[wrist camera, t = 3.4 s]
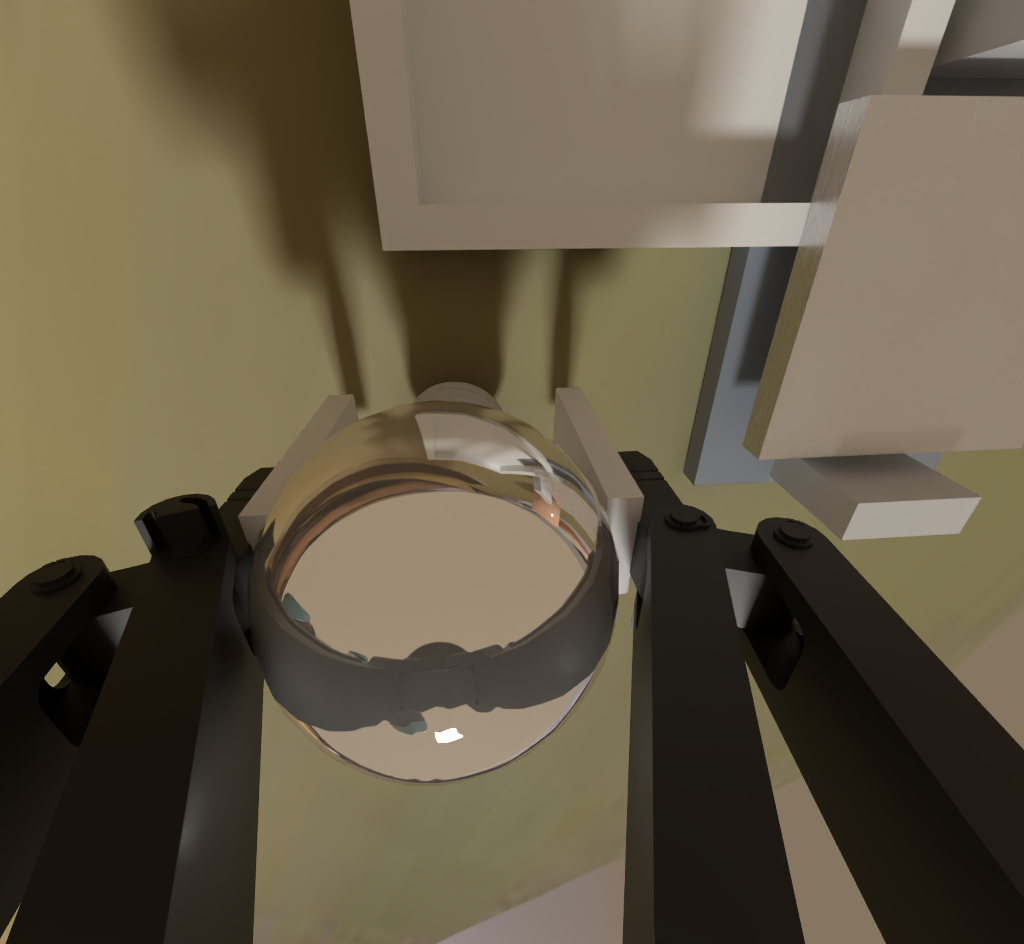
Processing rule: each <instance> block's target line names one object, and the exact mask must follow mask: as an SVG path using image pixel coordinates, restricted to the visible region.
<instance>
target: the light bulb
mask: <svg viewBox="0 0 1024 944" xmlns="http://www.w3.org/2000/svg"><path fill="white" fill-rule="evenodd" d="M247 598H248V620H249V626H250V633H251V640H252V646H253V650H254V653H255V656H256V659H257V662H258V665H259V668H260V671H261V673H262V675H263V677H264V679H265V681H266V683H267V685H268V687H269V689H270V691H271V693H272V695H273V697H274V699H275V700H276V702H277V704H278V705H279V707H280V708H281V710H282V711H283V713H284V714H285V716H286V717H287V718H288V719H289V720H290V721H291V722H292V723H293V724H294V725H295V726H296V727H297V728H298V729H299V730H300V731H301V732H302V733H303V734H304V735H305V736H306V737H307V738H308V739H309V740H310V741H311V742H312V743H313V744H314V745H315V746H317V747H318V748H319V749H320V750H321V751H322V752H323V753H325V754H326V755H328V756H330V757H331V758H333V759H334V760H336V761H337V762H339V763H342V764H344V765H346V766H348V767H351V768H353V769H355V770H357V771H360V772H362V773H364V774H367V775H369V776H371V777H374V778H377V779H381V780H385V781H388V782H393V783H398V784H404V785H417V786H439V785H448V784H454V783H460V782H464V781H468V780H473V779H476V778H479V777H481V776H484V775H486V774H489V773H491V772H494V771H496V770H499V769H501V768H504V767H506V766H509V765H511V764H513V763H514V762H516V761H518V760H520V759H522V758H524V757H526V756H527V755H528V754H530V753H531V752H532V751H534V750H535V749H536V748H538V747H539V746H540V745H542V744H543V743H544V742H545V741H546V740H547V739H548V738H550V737H551V736H552V735H553V734H554V733H555V732H556V731H557V730H559V729H560V728H561V727H562V726H563V725H564V724H565V723H566V722H567V721H568V719H569V718H570V717H571V716H572V715H573V714H574V713H575V712H576V711H577V709H578V708H579V706H580V704H581V703H582V701H583V700H584V698H585V696H586V695H587V693H588V692H589V690H590V689H591V687H592V685H593V684H594V682H595V680H596V678H597V677H598V675H599V673H600V671H601V669H602V668H603V666H604V663H605V660H606V656H607V653H608V650H609V646H610V643H611V640H612V636H613V633H614V629H615V625H616V621H617V618H618V614H619V558H618V554H617V550H616V547H615V543H614V539H613V535H612V531H611V528H610V524H609V520H608V517H607V513H606V510H605V508H604V506H603V505H602V503H601V501H600V499H599V498H598V496H597V494H596V492H595V491H594V489H593V487H592V485H591V484H590V482H589V481H588V479H587V477H586V476H585V474H584V473H583V471H582V469H581V468H580V467H579V466H578V465H577V464H576V463H575V461H574V460H573V459H572V458H571V457H570V456H569V455H568V454H567V453H566V452H565V451H564V450H563V449H562V447H561V446H559V445H558V444H556V443H555V442H554V441H552V440H551V439H549V438H548V437H546V436H545V435H544V434H542V433H541V432H539V431H538V430H537V429H535V428H534V427H532V426H531V425H529V424H528V423H526V422H525V421H523V420H521V419H518V418H516V417H514V416H511V415H509V414H507V413H505V412H503V411H502V409H501V407H500V405H499V404H498V402H497V401H496V400H495V399H494V398H493V397H492V396H491V395H490V394H489V393H488V392H486V391H485V390H483V389H481V388H479V387H477V386H475V385H472V384H469V383H464V382H445V383H440V384H437V385H434V386H432V387H430V388H428V389H426V390H425V391H424V392H422V393H421V394H420V395H419V396H418V397H417V398H416V400H415V401H414V403H410V404H403V405H399V406H396V407H393V408H390V409H387V410H384V411H381V412H378V413H375V414H373V415H370V416H367V417H365V418H363V419H360V420H358V421H356V422H354V423H353V424H351V425H349V426H347V427H346V428H344V429H342V430H341V431H339V432H337V433H336V434H334V435H332V436H331V437H329V438H328V439H327V440H326V441H325V442H323V443H322V444H321V445H320V446H319V447H318V448H317V449H316V450H315V451H314V452H313V453H312V454H311V455H310V456H309V457H308V458H307V459H306V460H305V461H304V462H303V463H302V464H301V465H300V466H299V467H298V468H297V469H296V470H295V471H294V472H293V473H292V474H291V475H290V476H289V477H288V479H287V481H286V482H285V484H284V485H283V487H282V489H281V490H280V492H279V493H278V495H277V497H276V498H275V500H274V501H273V503H272V505H271V507H270V509H269V511H268V513H267V515H266V518H265V520H264V522H263V524H262V526H261V528H260V531H259V534H258V538H257V541H256V545H255V548H254V552H253V555H252V560H251V567H250V573H249V580H248V587H247Z"/></svg>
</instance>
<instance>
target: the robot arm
mask: <svg viewBox="0 0 1024 944" xmlns="http://www.w3.org/2000/svg"><path fill="white" fill-rule="evenodd" d="M356 421H358V416H357V411H356V405H355V400H354V395H353V394H347V395H329V396H328V397H327V399H326V400H325V401H324V403H323V404H322V405H321V407H320V408H319V409H318V410H317V412H316V413H315V414H314V416H313V417H312V418H311V420H310V421H309V422H308V424H307V425H306V426H305V428H304V429H303V430H302V432H301V433H300V434H299V436H298V437H297V438H296V440H295V441H294V442H293V444H292V445H291V446H290V448H289V449H288V450H287V452H286V453H285V454H284V456H283V457H282V458H281V460H280V461H279V462H278V464H277V465H276V466H275V467H271V468H260V469H259V470H257V471H255V472H254V473H252V474H251V475H249V476H248V477H246V478H245V479H244V480H243V481H242V482H241V483H240V485H239V486H238V487H237V488H236V489H235V492H233V493H232V494H231V495H230V497H229V498H228V499H227V502H225V503H224V504H223V505H222V506H221V507H220V509H218V506H217V504H216V501H215V499H214V498H212V497H211V496H209V495H204V494H189V495H181V496H177V497H174V498H170V499H166V500H164V501H162V502H159V503H157V504H155V505H153V506H151V507H149V508H148V509H146V510H145V511H143V512H142V513H140V515H139V516H138V517H137V518H136V519H135V520H134V523H135V525H136V527H137V529H138V530H139V532H140V534H141V536H142V538H143V540H144V542H145V544H146V546H147V547H148V549H149V551H150V553H151V555H152V557H151V560H150V563H146V564H142V565H138V566H134V567H130V568H125V569H121V570H117V571H113V572H109V570H108V568H107V567H106V565H105V563H104V562H103V560H102V559H101V558H98V557H96V556H93V555H80V556H75V557H70V558H64V559H60V560H57V561H56V562H51V563H49V564H46V565H44V566H43V567H42V568H40V569H38V570H36V571H34V572H32V573H30V574H28V575H27V576H26V577H24V578H23V579H22V580H20V581H19V582H18V583H16V584H15V585H14V586H13V587H12V588H11V589H10V590H9V591H8V592H7V593H5V594H4V595H3V596H2V597H1V598H0V938H1V936H2V934H3V933H4V931H5V929H6V928H7V926H8V924H9V922H10V921H11V919H12V917H13V915H14V914H15V912H16V910H17V908H18V907H19V905H20V907H19V910H18V912H17V915H16V917H15V920H14V923H13V925H12V928H11V931H10V933H9V936H8V939H7V941H6V944H253V926H254V902H255V878H256V854H257V830H258V806H259V782H260V758H261V734H262V710H263V686H264V677H263V675H262V673H261V671H260V668H259V665H258V662H257V659H256V656H255V653H254V650H253V646H252V640H251V633H250V626H249V620H248V598H247V587H248V580H249V573H250V567H251V560H252V555H253V552H254V548H255V545H256V541H257V538H258V534H259V531H260V528H261V526H262V524H263V522H264V520H265V518H266V515H267V513H268V511H269V509H270V507H271V505H272V503H273V501H274V500H275V498H276V497H277V495H278V493H279V492H280V490H281V489H282V487H283V485H284V484H285V482H286V481H287V479H288V477H289V476H290V475H291V474H292V473H293V472H294V471H295V470H296V469H297V468H298V467H299V466H300V465H301V464H302V463H303V462H304V461H305V460H306V459H307V458H308V457H309V456H310V455H311V454H312V453H313V452H314V451H315V450H316V449H317V448H318V447H319V446H320V445H321V444H322V443H323V442H325V441H326V440H327V439H328V438H329V437H331V436H332V435H334V434H336V433H337V432H339V431H341V430H342V429H344V428H346V427H347V426H349V425H351V424H353V423H354V422H356ZM553 441H554V442H555V443H556V444H558V445H559V446H561V447H562V449H563V450H564V451H565V452H566V453H567V454H568V455H569V456H570V457H571V458H572V459H573V460H574V461H575V463H576V464H577V465H578V466H579V467H580V468H581V469H582V471H583V473H584V474H585V476H586V477H587V479H588V481H589V482H590V484H591V485H592V487H593V489H594V491H595V492H596V494H597V496H598V498H599V499H600V501H601V503H602V505H603V506H604V508H605V510H606V513H607V517H608V520H609V524H610V528H611V531H612V535H613V539H614V543H615V547H616V550H617V554H618V558H619V594H628V589H629V583H630V577H632V579H633V581H634V583H635V586H636V588H637V593H636V598H635V603H634V609H633V614H632V620H631V625H630V628H634V629H633V658H632V687H631V716H630V745H629V774H628V803H627V832H626V862H625V891H624V919H623V944H805V941H804V937H803V932H802V928H801V922H800V918H799V913H798V908H797V904H796V899H795V894H794V889H793V885H792V880H791V875H790V871H789V866H788V862H787V857H786V852H785V848H784V842H783V838H782V833H781V828H780V824H779V819H778V815H777V810H776V805H775V800H774V796H773V791H772V786H771V781H770V777H769V772H768V767H767V763H766V758H765V753H764V749H763V744H762V739H761V734H760V730H759V725H758V720H757V716H756V711H755V706H754V702H753V697H752V692H751V687H750V683H749V678H748V673H747V669H746V664H745V661H746V663H747V665H748V667H749V669H750V671H751V673H752V675H753V677H754V679H755V681H756V683H757V685H758V687H759V689H760V691H761V693H762V695H763V697H764V699H765V701H766V703H767V705H768V707H769V709H770V711H771V713H772V715H773V717H774V719H775V721H776V723H777V725H778V727H779V729H780V731H781V733H782V735H783V737H784V740H785V742H786V744H787V746H788V748H789V750H790V752H791V754H792V756H793V758H794V760H795V762H796V764H797V766H798V768H799V770H800V772H801V774H802V776H803V778H804V780H805V782H806V784H807V786H808V788H809V790H810V791H811V794H812V796H813V798H814V800H815V802H816V804H817V806H818V808H819V810H820V812H821V814H822V816H823V818H824V820H825V822H826V824H827V826H828V828H829V830H830V832H831V834H832V836H833V838H834V840H835V842H836V844H837V846H838V848H839V850H840V852H841V854H842V856H843V858H844V860H845V862H846V864H847V866H848V868H849V870H850V872H851V874H852V876H853V878H854V880H855V882H856V884H857V886H858V888H859V890H860V892H861V894H862V896H863V898H864V900H865V902H866V904H867V906H868V908H869V910H870V912H871V914H872V916H873V918H874V920H875V922H876V924H877V926H878V928H879V930H880V932H881V934H882V936H883V938H884V940H885V942H886V944H1024V750H1023V749H1022V747H1021V746H1020V745H1019V744H1018V743H1017V742H1016V741H1015V740H1014V739H1013V738H1012V737H1011V736H1010V734H1009V733H1008V732H1007V731H1006V730H1005V729H1004V728H1003V727H1002V726H1001V725H1000V724H999V723H998V722H997V720H996V719H994V717H993V716H992V715H991V714H990V713H989V712H988V711H987V710H986V709H985V708H984V707H983V706H982V704H981V703H980V702H979V701H978V700H977V699H976V698H975V697H974V696H973V695H972V694H971V693H970V691H969V690H968V689H967V688H966V687H965V686H964V685H963V684H962V683H961V682H960V681H959V680H958V679H957V677H956V676H955V675H954V674H953V673H952V672H951V671H950V670H949V669H948V668H947V667H946V666H945V665H944V663H943V662H942V661H941V660H940V659H939V658H938V657H937V656H936V655H935V654H934V653H933V652H932V651H931V649H930V648H929V647H928V646H927V645H926V644H925V643H924V642H923V641H922V640H921V639H920V638H919V637H918V635H917V634H916V633H915V632H914V631H913V630H912V629H911V628H910V627H909V626H908V625H907V624H906V623H905V621H904V620H903V619H902V618H901V617H900V616H899V615H898V614H897V613H896V612H895V611H894V610H893V609H892V607H891V606H890V605H889V604H888V603H887V602H886V601H885V600H884V599H883V598H882V597H881V596H880V595H879V593H878V592H877V591H876V590H875V589H874V588H873V587H872V586H871V585H870V584H869V583H868V582H867V581H866V579H865V578H864V577H863V576H862V575H861V574H860V573H859V572H858V571H857V570H856V569H855V568H854V567H853V565H852V564H851V563H850V562H849V561H848V560H847V559H846V558H845V557H844V556H843V555H842V554H841V553H840V551H839V550H838V549H837V548H836V547H835V546H834V545H833V544H832V543H831V542H830V541H829V540H828V539H827V537H825V536H824V535H823V534H822V533H820V532H819V531H818V530H817V529H815V528H813V527H811V526H809V525H807V524H805V523H803V522H800V521H798V520H797V521H796V520H794V519H789V518H778V517H775V518H767V519H764V520H763V521H761V522H759V524H758V526H757V529H756V532H755V535H752V534H746V533H739V532H732V531H726V530H722V529H717V528H716V525H715V523H714V521H713V519H712V518H711V517H710V516H709V515H707V514H706V513H705V512H703V511H701V510H699V509H697V508H695V507H692V506H688V505H683V504H682V502H681V501H680V500H679V498H678V497H677V495H676V494H675V493H674V491H673V490H672V488H671V487H670V486H669V484H668V483H667V481H666V480H664V477H663V476H662V474H661V473H660V472H658V469H657V467H656V466H655V465H654V463H653V462H652V460H651V459H649V458H648V457H646V456H644V455H643V454H641V453H640V452H638V451H626V452H617V450H616V449H615V447H614V445H613V444H612V442H611V440H610V439H609V437H608V435H607V434H606V432H605V430H604V429H603V427H602V425H601V424H600V422H599V420H598V419H597V417H596V415H595V414H594V412H593V410H592V409H591V407H590V405H589V404H588V402H587V400H586V399H585V397H584V395H583V394H582V392H581V390H580V389H579V387H570V388H556V397H555V418H554V439H553ZM56 662H57V663H58V665H59V666H60V667H61V668H62V670H63V671H64V672H65V673H66V674H65V675H64V677H63V678H62V679H61V681H60V682H59V683H58V684H57V685H56V686H55V687H51V686H50V685H49V684H48V683H47V682H46V680H45V679H44V677H45V676H46V674H47V673H48V672H49V670H50V669H51V668H52V667H53V665H54V664H55V663H56ZM21 901H22V902H21ZM20 903H21V904H20Z"/></svg>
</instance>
